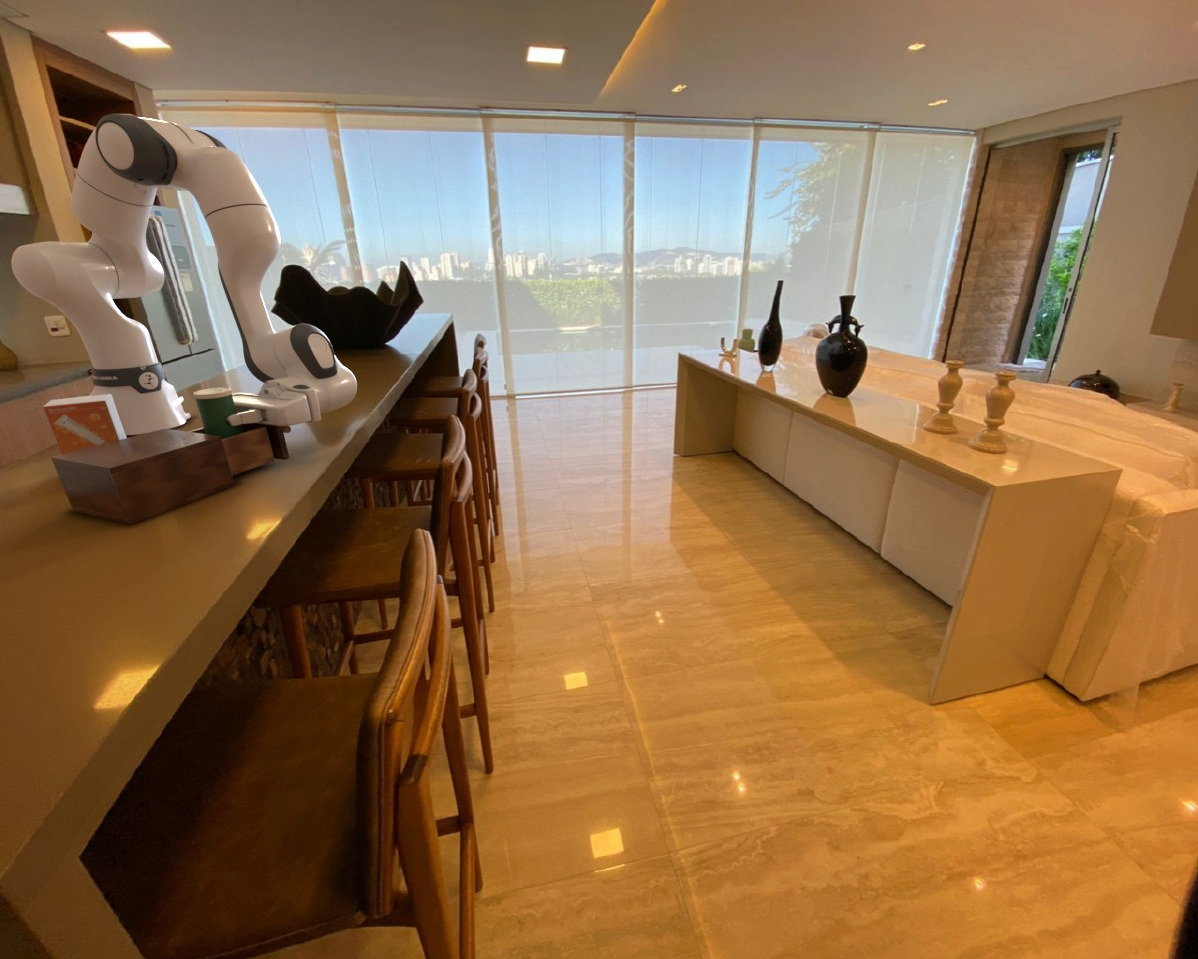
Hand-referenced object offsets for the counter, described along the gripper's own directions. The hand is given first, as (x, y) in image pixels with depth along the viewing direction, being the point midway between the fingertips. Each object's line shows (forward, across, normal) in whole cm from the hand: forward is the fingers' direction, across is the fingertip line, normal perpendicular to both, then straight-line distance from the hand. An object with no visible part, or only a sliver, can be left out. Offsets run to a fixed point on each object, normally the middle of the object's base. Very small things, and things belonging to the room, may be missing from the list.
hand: (215, 419), depth 91 cm
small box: (+7, -23, +10) cm, 26 cm away
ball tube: (-1, 0, +6) cm, 6 cm away
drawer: (-2, 0, +9) cm, 9 cm away
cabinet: (+12, 0, +10) cm, 15 cm away
